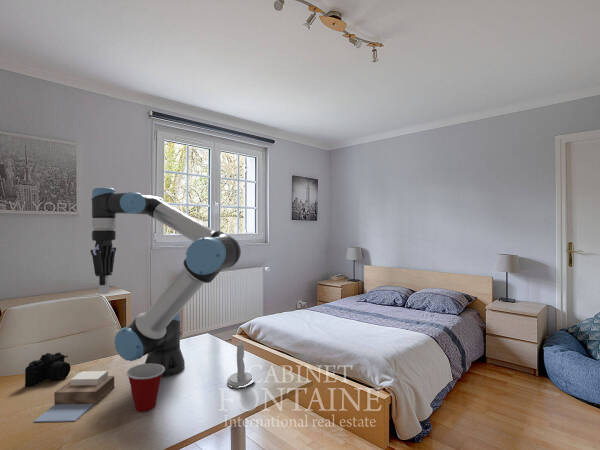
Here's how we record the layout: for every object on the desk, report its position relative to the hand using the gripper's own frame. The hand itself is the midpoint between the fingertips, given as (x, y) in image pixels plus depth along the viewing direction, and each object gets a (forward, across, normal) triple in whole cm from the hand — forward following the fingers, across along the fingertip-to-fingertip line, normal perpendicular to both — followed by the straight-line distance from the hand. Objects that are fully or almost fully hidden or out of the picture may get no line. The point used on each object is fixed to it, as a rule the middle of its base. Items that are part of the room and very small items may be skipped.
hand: (104, 293), depth 123 cm
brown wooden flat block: (+32, +12, 0) cm, 34 cm away
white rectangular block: (+28, +10, 0) cm, 30 cm away
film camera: (+32, -2, -20) cm, 38 cm away
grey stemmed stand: (+32, +4, +51) cm, 60 cm away
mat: (+32, +22, 0) cm, 39 cm away
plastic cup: (+32, +20, +24) cm, 45 cm away
